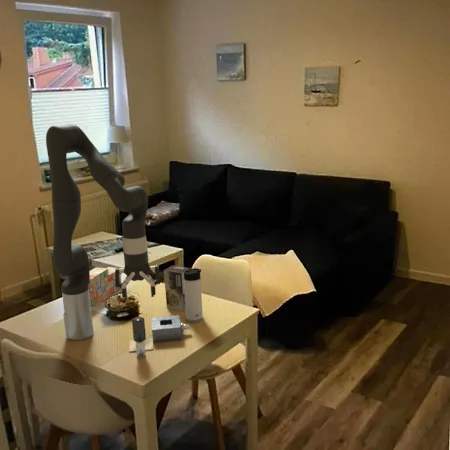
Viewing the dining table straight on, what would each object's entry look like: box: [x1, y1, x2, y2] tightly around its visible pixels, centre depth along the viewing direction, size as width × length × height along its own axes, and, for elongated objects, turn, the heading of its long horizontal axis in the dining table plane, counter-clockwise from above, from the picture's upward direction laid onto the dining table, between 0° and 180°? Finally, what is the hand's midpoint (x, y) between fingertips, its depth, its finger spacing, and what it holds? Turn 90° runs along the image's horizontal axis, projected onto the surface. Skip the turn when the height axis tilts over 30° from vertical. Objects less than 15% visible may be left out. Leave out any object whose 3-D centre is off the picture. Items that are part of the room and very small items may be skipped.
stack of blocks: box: [88, 266, 122, 307], centre depth 226 cm, size 21×6×12 cm, turn 159°
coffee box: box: [163, 265, 192, 312], centre depth 212 cm, size 9×6×16 cm
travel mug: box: [184, 268, 204, 323], centre depth 200 cm, size 6×7×20 cm
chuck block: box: [151, 314, 191, 344], centre depth 190 cm, size 13×10×5 cm
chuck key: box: [131, 316, 147, 359], centre depth 175 cm, size 4×4×13 cm
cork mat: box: [128, 337, 154, 353], centre depth 184 cm, size 8×8×1 cm
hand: (139, 297), depth 173 cm, fingers open, 8 cm apart
